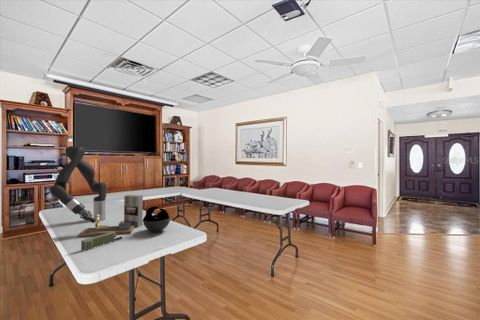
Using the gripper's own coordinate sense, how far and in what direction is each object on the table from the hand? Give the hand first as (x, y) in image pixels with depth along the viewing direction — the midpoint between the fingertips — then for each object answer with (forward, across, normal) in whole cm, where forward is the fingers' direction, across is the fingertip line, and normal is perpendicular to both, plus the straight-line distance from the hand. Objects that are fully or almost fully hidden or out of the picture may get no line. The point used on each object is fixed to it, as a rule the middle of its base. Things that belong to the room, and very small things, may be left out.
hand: (94, 222), depth 170 cm
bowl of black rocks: (+37, -5, -25) cm, 45 cm away
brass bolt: (+8, 0, +1) cm, 8 cm away
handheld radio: (+15, -25, -3) cm, 29 cm away
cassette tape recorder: (+23, +14, -11) cm, 29 cm away
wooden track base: (+12, 0, 0) cm, 12 cm away
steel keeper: (+19, 0, -10) cm, 22 cm away
